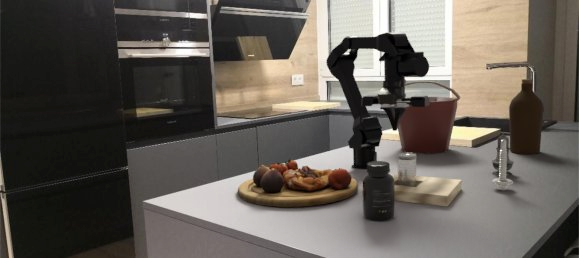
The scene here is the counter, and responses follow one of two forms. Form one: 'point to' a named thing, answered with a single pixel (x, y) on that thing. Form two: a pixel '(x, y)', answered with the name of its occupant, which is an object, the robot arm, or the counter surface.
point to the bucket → (428, 124)
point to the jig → (428, 190)
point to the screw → (502, 169)
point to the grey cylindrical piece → (407, 169)
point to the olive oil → (525, 120)
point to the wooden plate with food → (297, 186)
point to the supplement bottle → (378, 192)
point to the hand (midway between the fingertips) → (394, 130)
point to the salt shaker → (497, 161)
